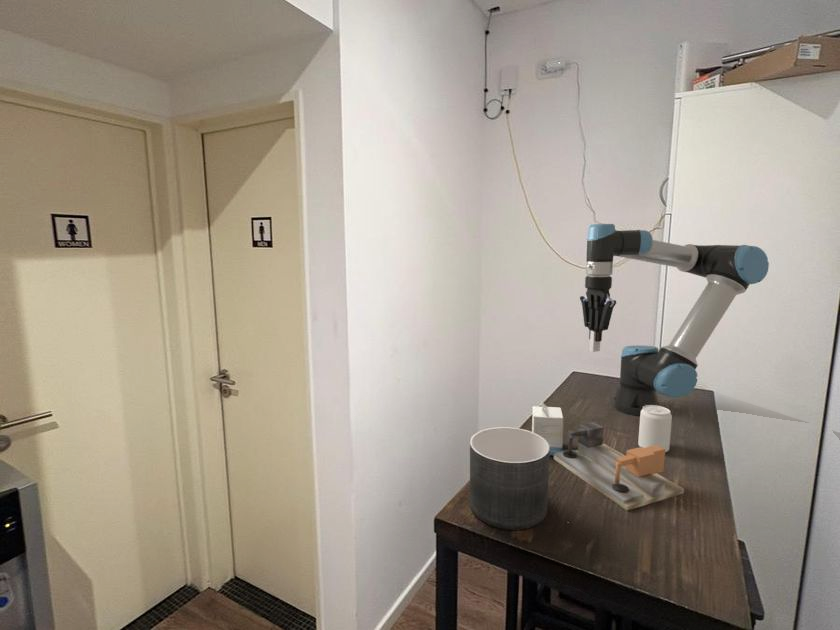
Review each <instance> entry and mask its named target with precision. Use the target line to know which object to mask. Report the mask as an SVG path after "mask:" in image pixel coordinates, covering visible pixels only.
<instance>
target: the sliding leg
mask: <svg viewBox="0 0 840 630" xmlns="http://www.w3.org/2000/svg"><path fill="white" fill-rule="evenodd" d="M665 456H666V452H665V449H664V448H662V447H660V446H658V445H655V446H651V447H647V448H643V447H640V446H639V447H635V448H631V449H626V455H625V456H624V457H620V458H616V474H615V483H616V484H619V482H620V467H622V466H625V469H626V470H628V471H629V472H631V473H633V474H634V475H636V476H638V477H640V476H644V475H647V474H656V473H657V474H659V473H662V472H664V470H665V469H664V467H665Z"/></svg>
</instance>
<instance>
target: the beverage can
mask: <svg viewBox="0 0 840 630" xmlns="http://www.w3.org/2000/svg"><path fill="white" fill-rule="evenodd" d="M672 419H673V416H672V413H671V410H670V409H669V408H667V407H664V406H662V405H660V406H656V405H646V406H644V407H643V409H642V410H641V413H640V416H639V429H638V439H637V440H638V443H637V444H638V446H639V447H643V448H647V447H651V446H655V445H658V446H660V447H662V448H664V449H665V453H667V452H669V450H670V444H671V434H672V432H671V431H672V421H673V420H672Z"/></svg>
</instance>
